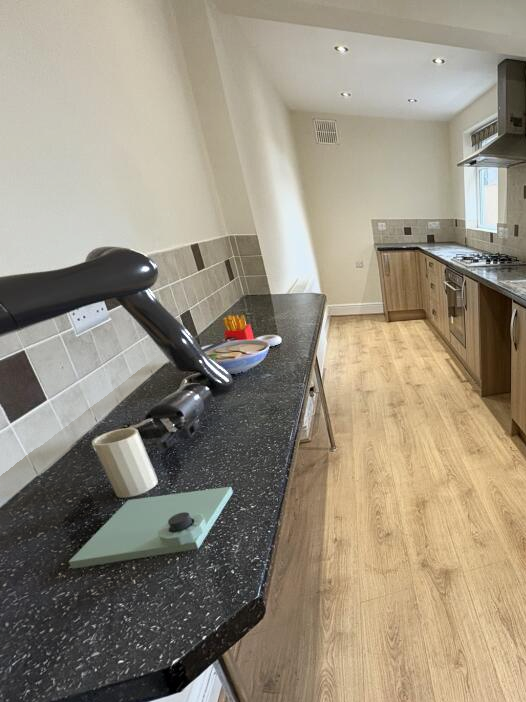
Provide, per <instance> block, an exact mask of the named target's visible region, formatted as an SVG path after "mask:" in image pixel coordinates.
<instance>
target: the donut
mask: <svg viewBox="0 0 526 702" xmlns="http://www.w3.org/2000/svg"><path fill="white" fill-rule="evenodd" d="M254 340H263V341H266V342H269V345H270V346H275V345H278V344H280V343H281V344H282V342H283V341H282V337H281V336H279V335H276V334H265V335H260V336H257V337H254ZM281 344H280V345H281ZM278 346H279V345H278Z"/></svg>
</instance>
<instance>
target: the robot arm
mask: <svg viewBox="0 0 526 702" xmlns="http://www.w3.org/2000/svg"><path fill="white" fill-rule="evenodd" d="M158 278H159V269H158V266H157V264H156V262H154V260H153V259H152V258H151V257H150V256H148V255H146V254H144V253H143V252H141V251H138V250H135V249H133V248H128V247H121V246H111V245H110V246H107V245H106V246H100V247H96V248H93V249H92V250H91V251H89V252H88V254H87V255H86V257H85V260H84V261H83V262H80V263H76V264H73V265H70V266H66V267H63V268H58V269H52V270H45V271H36V272H34V271H33V272H26V273H18V274H10V275H3V276H0V338H2V337H5V336H9V335H10V334H11V335H12V334H14V333H16V332H20V331H24V330H25V329H28V328H31V327H34V326H36V325H39V324H42V323H45V322H47V321H50V320H54V319H56V318H58V317H61V316H64V315H66V314H69V313H72V312H74V311H76V310H79V309H82V308H84V307H88V306H91V305H94V304H95V305H96V304H98V303H102V302H106V301H110V300H115V302H117V303H118V304H119V305H120V306H121V307H122V308H123V309H124V310H125V311H126V312H127V313H128V314H129V315H130V316H131V317H132V319H134V321H136V322H137V324H138V325H139V326H140V327H141V328H142V329H143V330H144V331H145V332H146V334H147V335H148V336H149V337H150V339H151V340H152V341H153V342H154V344H155V345H156V346H157V348H159V350H160V351H161V352H162V354H163V355H164V356H165V358H166V359H167V361H169V362H170V364H171V365H172V366H173V367H174V368H175V369H176V370H177V371H178V372H181V373H182V372H183V373H193V374H190V375H188V376H186V377H184V378H183V379H182V381H181V383H180V386H179V388H178V389H176V390H175V391H174V392H173V393H170V394H169V395H167V396H165V397H164V398H162V400H160V401H159V402H157V403H156V404H155V405H154V406H153V407H151V408H150V409H149V410H148V411H147V413H146V415H145V418H144V420H142V421H140V422H138V423H137V424H134V425H130V423H129V422H123V423H121V424H119V425H118V426H116V427H115V428H113V429H112V430H110V431H109V432H111V431H114V430H118V429H125V428H135V429H137V430H138V432H139V435H140V437H141V439H142V442H143V443H144V442H146V441H148V440H153V439H158V440H157V441H156V445H157V448H158V451H160V452H165V451H167V450H168V449H169V448H171V447H172V446H173V445H174V444H175V443H178V442H180V441H181V439H184V440H191V439H192V438H193V437H194V436H195V434H196V433H197V432H198V431H199V430H200V428H202V425H201V422H200V419H199V418H200V416H201V414H202V413H203V412H204V411H205V410H206V409H207V408H208V407H209V406H210V405H211V403H212V401H213V398H218V397H221V396H224V395H228V394H229V393H231V392H232V391H233V389H234V386H235V382H234V378H233V375H230V373H229V372H228V371H227V370H226V369H225V368H223V367H222V366H221V365H219V364H218V363H217V362H216V361H214V360H213V359H212V358H211V357H209V356H208V355H207V354H206V353H205V352H204V351H203V349H202V348H201V347H202V346H201V345H200V344H199V343H198V341H197V339H195V337H194V336H193V335H192V334H191V332H190V331H189V329H187V328H186V327H185V326H184V325H183V323H181V321H180V320H178V319H177V318H176V317H175V316H174V315H173V314H172V313H171V312H169V310H168V309H167V308H166V307H164V305H162V303H161V302H160V301H159V300H158V298H157V297H156V296H155V295H154V294H153V292H152V291H151V288H152V287H153V286H154V285H155V283H157V280H158Z"/></svg>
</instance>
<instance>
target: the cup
mask: <svg viewBox="0 0 526 702" xmlns="http://www.w3.org/2000/svg"><path fill="white" fill-rule="evenodd" d="M110 431H111V432H110ZM110 431H108V432H104V433H102V434H101V435H97V436H96V437H95V438H93V439H92V440H91V445H92V448H93V449H94V452H95V454H96V456H97V458H98V460H99V462H100V465H101V467H102V469H103V471H104V474H105V475H106V477H107V480H108V481H109V484H110V486H111V488H112V490H113V494H115V496H116V497H117V498H122V499H123V498H124V499H125V498H131V497H136V496H139V495H142V494H144V493H146V492H148V491H150V490H152V489H153V488H154V487H155V486H157V485H158V483H159V480H158V476H157V473H156V471H155V469H154V467H153V464H152V461H151V458H150V457H149V454H148V452H147V449H146V447H145V445H144V441H143V442H142V439H141V436H140V435H139V432H138V430H137V429H135V428H125V429H118V430H114V431H112V430H110Z"/></svg>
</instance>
